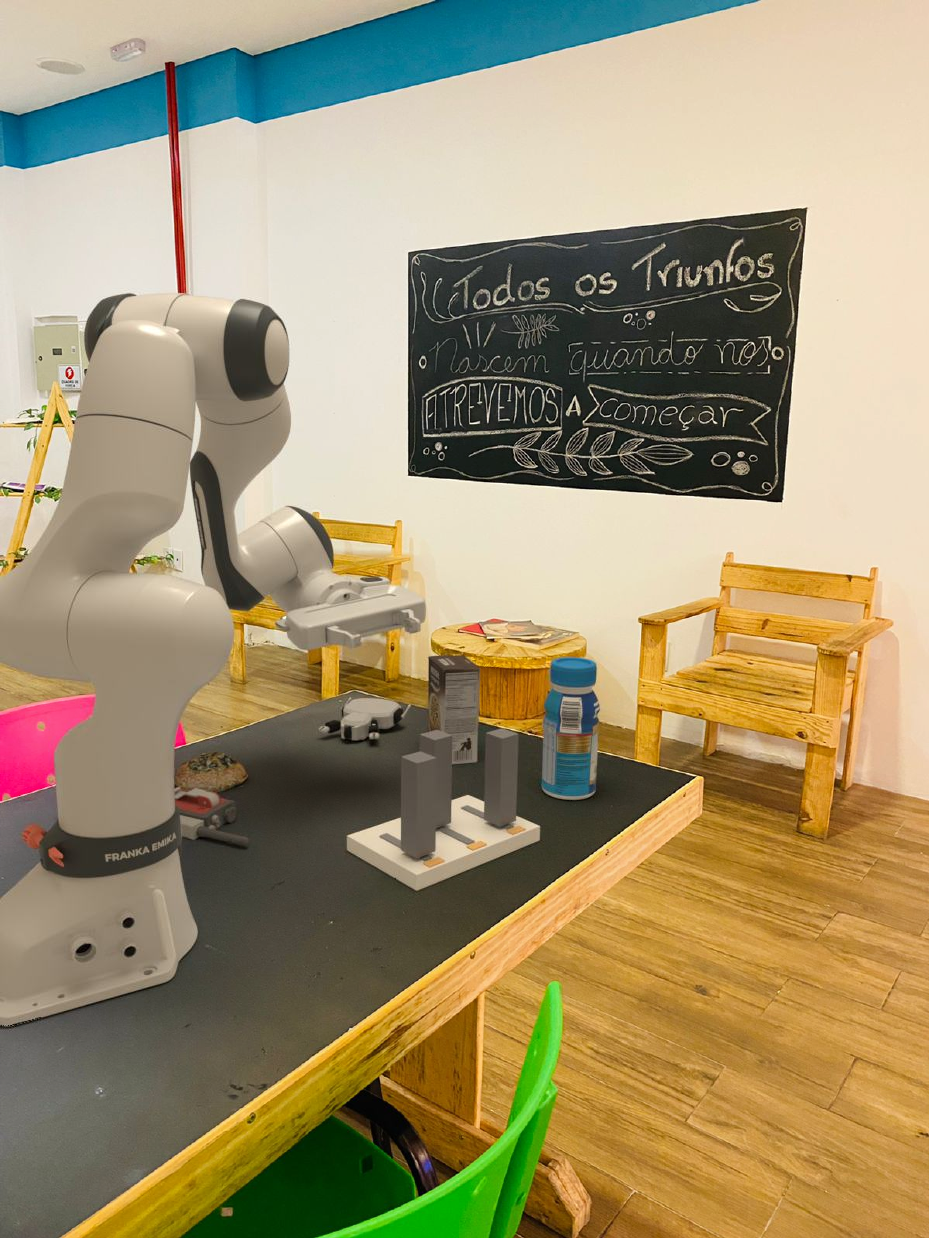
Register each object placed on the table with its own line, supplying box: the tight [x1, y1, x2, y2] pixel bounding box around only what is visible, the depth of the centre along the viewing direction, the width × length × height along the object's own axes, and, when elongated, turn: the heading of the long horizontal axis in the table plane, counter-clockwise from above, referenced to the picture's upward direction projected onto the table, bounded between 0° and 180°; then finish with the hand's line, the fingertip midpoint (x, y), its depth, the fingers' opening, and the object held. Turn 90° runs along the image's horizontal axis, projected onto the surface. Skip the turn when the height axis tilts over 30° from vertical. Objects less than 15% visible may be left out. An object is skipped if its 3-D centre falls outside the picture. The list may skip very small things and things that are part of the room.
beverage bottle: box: [541, 656, 601, 801], centre depth 137 cm, size 8×8×20 cm
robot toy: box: [318, 697, 412, 741], centre depth 164 cm, size 12×4×15 cm
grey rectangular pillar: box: [418, 730, 453, 828], centre depth 119 cm, size 3×3×12 cm
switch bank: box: [346, 794, 541, 891], centre depth 119 cm, size 21×14×2 cm, turn 132°
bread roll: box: [174, 750, 249, 793], centre depth 140 cm, size 11×11×5 cm
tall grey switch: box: [400, 751, 437, 859], centre depth 111 cm, size 3×3×12 cm
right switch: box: [483, 727, 520, 827], centre depth 120 cm, size 3×3×12 cm
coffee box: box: [427, 654, 481, 765], centre depth 152 cm, size 9×6×16 cm
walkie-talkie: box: [174, 787, 250, 845], centre depth 124 cm, size 9×4×20 cm
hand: (386, 634), depth 123 cm, fingers open, 8 cm apart
